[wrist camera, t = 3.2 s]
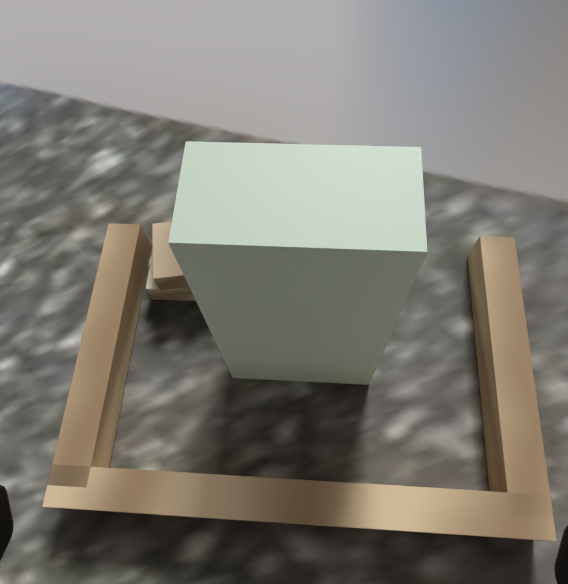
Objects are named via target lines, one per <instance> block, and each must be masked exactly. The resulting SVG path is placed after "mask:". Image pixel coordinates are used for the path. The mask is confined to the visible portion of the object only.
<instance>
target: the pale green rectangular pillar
mask: <svg viewBox="0 0 568 584" xmlns="http://www.w3.org/2000/svg"><path fill="white" fill-rule="evenodd" d="M168 243H169V245H170V247H171V249H172V251H173V254H174V256H175V258H176V260H177V262H178V264H179V266H180V268H181V270H182V272H183V275H184V277H185V279H186V281H187V283H188V285H189V287H190V289H191V291H192V293H193V296H194V298H195V300H196V302H197V304H198V306H199V308H200V310H201V312H202V314H203V317H204V319H205V321H206V323H207V325H208V327H209V329H210V331H211V333H212V335H213V338H214V340H215V342H216V344H217V346H218V348H219V350H220V352H221V354H222V356H223V359H224V361H225V363H226V365H227V367H228V369H229V371H230V373H231V375H232V377H233V378H244V379H264V380H283V381H303V382H323V383H342V384H362V385H369V383H370V381H371V379H372V377H373V374H374V372H375V370H376V367H377V365H378V363H379V361H380V358H381V356H382V354H383V352H384V349H385V347H386V345H387V342H388V340H389V338H390V336H391V333H392V331H393V329H394V326H395V324H396V322H397V320H398V317H399V315H400V313H401V310H402V308H403V306H404V304H405V301H406V299H407V297H408V294H409V292H410V290H411V288H412V285H413V283H414V281H415V278H416V276H417V274H418V272H419V269H420V267H421V265H422V262H423V260H424V258H425V256H426V253H427V240H426V223H425V206H424V189H423V172H422V155H421V147H391V146H348V145H346V146H345V145H344V146H343V145H307V144H266V143H224V142H186V144H185V150H184V156H183V161H182V167H181V173H180V179H179V184H178V190H177V196H176V201H175V207H174V213H173V218H172V224H171V230H170V236H169V241H168Z"/></svg>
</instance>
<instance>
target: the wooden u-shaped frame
mask: <svg viewBox="0 0 568 584" xmlns="http://www.w3.org/2000/svg"><path fill="white" fill-rule="evenodd" d="M150 252H151V244H150V242H149V240H148V238H147V236H146V235H145V233H144V231H143V229H142V227H141V225H137V224H108V228H107V232H106V237H105V241H104V245H103V250H102V254H101V258H100V262H99V267H98V271H97V275H96V280H95V284H94V288H93V292H92V297H91V301H90V305H89V309H88V314H87V318H86V322H85V327H84V331H83V335H82V339H81V344H80V348H79V352H78V357H77V361H76V365H75V369H74V374H73V378H72V382H71V387H70V391H69V395H68V399H67V404H66V408H65V412H64V417H63V421H62V425H61V429H60V434H59V438H58V442H57V446H56V451H55V455H54V459H53V464H52V468H51V472H50V476H49V481H48V485H47V489H46V494H45V498H44V502H43V506H42V507H52V508H63V509H77V510H92V511H107V512H122V513H137V514H152V515H167V516H182V517H197V518H212V519H226V520H241V521H256V522H271V523H286V524H301V525H316V526H331V527H346V528H361V529H376V530H391V531H406V532H421V533H436V534H451V535H466V536H481V537H495V538H510V539H525V540H544V541H556V534H555V527H554V519H553V512H552V505H551V498H550V491H549V483H548V476H547V469H546V462H545V455H544V447H543V440H542V433H541V426H540V419H539V411H538V404H537V397H536V390H535V383H534V375H533V368H532V361H531V354H530V347H529V339H528V332H527V325H526V318H525V310H524V303H523V296H522V289H521V282H520V274H519V267H518V260H517V253H516V246H515V238H514V237H492V236H480V237H479V239H478V240H477V242H476V244H475V245H474V247H473V249H472V250H471V252H470V254H469V255H468V257H467V258H468V269H469V280H470V290H471V301H472V311H473V322H474V333H475V343H476V354H477V364H478V375H479V386H480V396H481V407H482V417H483V428H484V438H485V449H486V460H487V470H488V481H489V491H476V490H460V489H443V488H427V487H411V486H395V485H379V484H363V483H347V482H330V481H314V480H298V479H282V478H266V477H250V476H233V475H217V474H201V473H185V472H169V471H153V470H136V469H120V468H110V462H111V457H112V452H113V446H114V441H115V436H116V431H117V425H118V420H119V415H120V410H121V404H122V399H123V394H124V389H125V383H126V378H127V373H128V368H129V362H130V357H131V352H132V346H133V341H134V336H135V331H136V325H137V320H138V315H139V310H140V304H141V299H142V294H143V289H144V283H145V278H146V273H147V267H148V262H149V257H150Z"/></svg>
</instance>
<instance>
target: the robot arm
mask: <svg viewBox="0 0 568 584" xmlns="http://www.w3.org/2000/svg"><path fill="white" fill-rule="evenodd" d="M12 533H13V519H12V514H11V509H10V504H9V499H8V494H7V490H6V489H5V487H4V486H2V485H0V561H1V559H2V556H3V554H4V552H5V550H6V548H7V546H8V544H9V541H10V539H11V536H12ZM555 577H556V581H557V584H568V526H567V527H566V528H565V529H564V532H563V535H562V539H561V543H560V546H559V550H558V554H557V557H556V561H555Z"/></svg>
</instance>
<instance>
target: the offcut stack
mask: <svg viewBox="0 0 568 584" xmlns="http://www.w3.org/2000/svg"><path fill="white" fill-rule="evenodd" d="M171 224H172V222H164V223H156V224H153V254H152V259H151V264H150V270H149V275H148V280H147V286H146V290H147V291H148V293H149V294H150V296H151V297H152V299H154V300H178V301H196V300H195V298H194V296H193V293H192V291H191V289H190V287H189V285H188V283H187V281H186V279H185V277H184V275H183V272H182V270H181V268H180V266H179V264H178V262H177V260H176V258H175V256H174V254H173V251H172V249H171V247H170V245H169V243H168V241H169V236H170V230H171Z"/></svg>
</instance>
